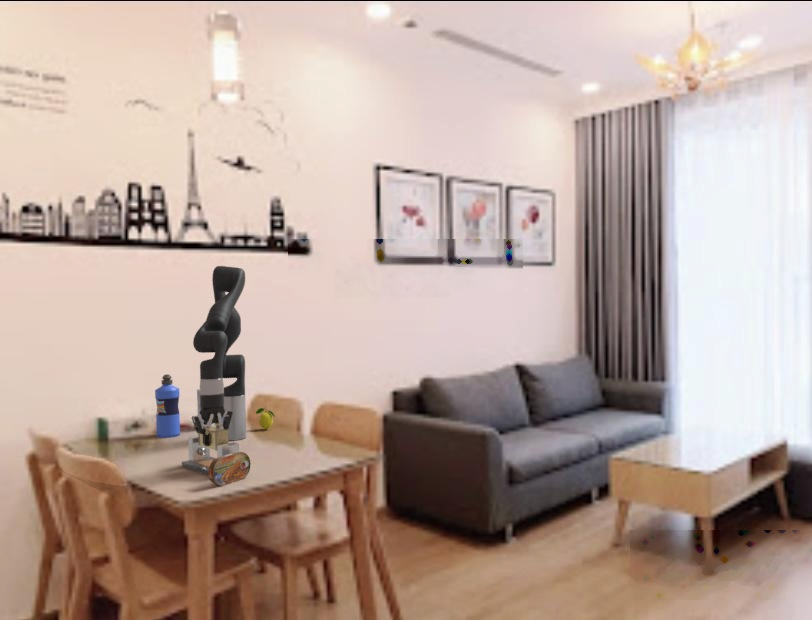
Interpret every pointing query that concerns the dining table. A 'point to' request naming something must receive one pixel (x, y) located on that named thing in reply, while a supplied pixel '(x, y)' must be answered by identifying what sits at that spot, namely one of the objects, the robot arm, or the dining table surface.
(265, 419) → the lemon
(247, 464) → the tin
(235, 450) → the stand
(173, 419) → the water bottle
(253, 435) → the dining table surface
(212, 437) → the block
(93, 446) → the dining table surface
